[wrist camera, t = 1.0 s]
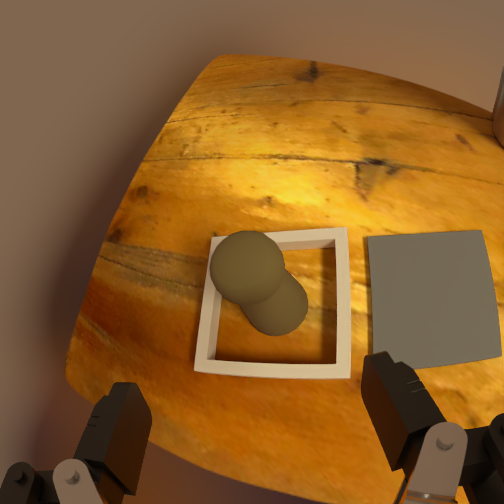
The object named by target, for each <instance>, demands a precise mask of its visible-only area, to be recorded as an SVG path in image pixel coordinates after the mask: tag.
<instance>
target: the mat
mask: <svg viewBox="0 0 504 504" xmlns="http://www.w3.org/2000/svg"><path fill="white" fill-rule="evenodd" d="M367 244H368V254H369V267H370V281H371V299H372V327H373V354H374V353H378V352H382V351H387V352H388V353H389V355H390V356H391V358H392V360H393V361H394V363H397V362H400V361H402V362H404V363H405V364H407V365H408V366H410V367H411V368H413V369H422V368H431V367H439V366H447V365H454V364H461V363H467V362H474V361H479V360H485V359H490V358H496V357H500V356H502V350H501V337H500V326H499V317H498V309H497V302H496V295H495V289H494V283H493V278H492V273H491V268H490V263H489V258H488V254H487V250H486V246H485V242H484V238H483V234H482V230H475V231H457V232H439V233H422V234H405V235H388V236H372V237H367Z"/></svg>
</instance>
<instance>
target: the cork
mask: <svg viewBox="0 0 504 504" xmlns="http://www.w3.org/2000/svg"><path fill="white" fill-rule="evenodd" d="M209 268H210V277H211V280H212V282H213V284H214V286H215V288H216V290H217V291H218V292H219V293H220V294H221V295H222V296H223V297H224V298H225V299H227V300H229V301H231V302H233V303H236V304H239V305H240V307H241V308H242V310H243V311H244V313H245V314H246V316H247V318H248V319H249V321H250V322H251V324H252V325H253V326H254V327H255V328H256V329H257V330H258V331H259V332H262V333H264V334H266V335H270V336H280V335H285V334H288V333H290V332H291V331H293V330H295V329H296V328H297V327H298V326H299V325H300V324H301V323H302V322H303V320H304V318H305V316H306V314H307V310H308V299H307V294H306V292H305V290H304V289H303V287H302V286H301V284H300V283H299V282H298V281H297V280H296V279H295V278H294V277H293V276H292V275H291V274H290V273H289V272H288V271H287V270H286V269H285V263H284V259H283V254H282V252H281V250H280V249H279V247H278V245H277V244H276V242H275V241H273V240H272V239H271V238H269V237H268V236H266V235H265V234H264V233H260V232H257V231H240V232H236V233H233V234H231V235H229V236H228V237H226V238H224V239H223V240H222V241H221V242H220V243H219V244H218V245H217V247H216V249H215V251H214V252H213V254H212V257H211V262H210V266H209Z"/></svg>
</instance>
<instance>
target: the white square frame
mask: <svg viewBox="0 0 504 504" xmlns="http://www.w3.org/2000/svg"><path fill="white" fill-rule="evenodd" d="M264 234H265V235H266V236H268V237H269V238H271V239H272V240H273V241H275V242H276V244H277V245H278V247H279V249H280V250H281V251H284V250H300V249H317V248H333V247H336V273H337V356H336V364H270V363H248V362H232V361H219V360H215V354H216V344H217V335H218V327H219V318H220V309H221V301H222V295H221V294H220V293H219V292H218V291H217V290H216V288H215V286H214V284H213V282H212V280H211V277H210V268H209V266H210V262H211V257H212V254H213V252H214V251H215V249H216V247H217V245H218V244H219V243H220V242H221V241H222V240H223V239H224V238H226V237H228V236H220V237H212V241H211V247H210V254H209V260H208V267H207V274H206V280H205V287H204V294H203V302H202V309H201V316H200V324H199V332H198V340H197V348H196V356H195V365H194V371H198V372H202V373H211V374H221V375H232V376H245V377H261V378H282V379H350V368H351V296H350V269H349V251H348V236H347V227H339V228H324V229H310V230H296V231H282V232H269V233H264Z"/></svg>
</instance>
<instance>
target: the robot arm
mask: <svg viewBox="0 0 504 504" xmlns="http://www.w3.org/2000/svg"><path fill="white" fill-rule="evenodd" d="M492 118H493V120H494V122H493V131H494V134H495V136H496V138H497V140H498V141H499V142H500V144H501V145H502V146H503V147H504V66H503V69H502V74H501V79H500V84H499V88H498V93H497V97H496V101H495V105H494V109H493V113H492ZM361 394H362V399H363V402H364V404H365V407H366V409H367V411H368V414H369V416H370V418H371V421H372V423H373V426H374V428H375V430H376V433H377V435H378V438H379V440H380V443H381V445H382V447H383V450H384V452H385V455H386V457H387V460H388V462H389V465H390V467H391V470H392V472H393V471H395V470H398V469H401V468H402V469H403V471H404V474H405V476H404V478H403V481H402V483H401V486H400V488H399V491H398V493H397V495H396V498H395V500H394V502H393V504H458V502H457V501H455V495H456V491H457V488H458V486H463V488H464V491H465V493H466V496H467V498H468V501H469V503H470V504H504V413H502V414H499V415H498V416H496V417H495V418H494V419H493V420H492V422H491V424H490V425H489V426H485V427H479V428H473V429H463V428H462V427H461V426H459V425H457V424H455V423H452V422H447V421H446V419H445V418H444V416H443V415H442V413H441V412H440V410H439V408H438V407H437V405H436V404H435V402H434V400H433V399H432V397H431V396H430V394H429V393H428V391H427V389H426V390H425V386H424V385H423V383H422V382H421V381H420V379H419V377H418V376H417V374H416V373H415V371H414V370H413V368H411V367H410V366H408V365H407V364H405V363H404V362H402V361H400V362H397V363H394V361H393V360H392V358H391V356H390V355H389V353H388V352H387V351H382V352H378V353H374V354H370V355H366V356H365V358H364V364H363V373H362V381H361ZM151 425H152V416H151V411H150V409H149V407H148V405H147V403H146V401H145V399H144V397H143V395H142V393H141V391H140V389H139V387H138V385H137V384H136V383H134V382H116V383H114V384H113V386H112V389H111V391H110V393H109V396H103V397H102V399H101V400H100V401H99V402H98V403H97V404H96V405H95V407H94V409H93V412H92V414H91V418H89V421H88V423H87V427H86V428H85V430H84V432H83V435H82V437H81V440H80V442H79V445H78V447H77V449H76V452H75V455H74V457H73V459H68V460H65V461H63V462H61V463H60V464H59V465H58V466H57V467H56V468H55V470H52V471H35V470H34V469H33V468H32V467H31V466H30V465H29V464H28V463H25V462H18V463H15V464H13V465H12V466H11V467H10V468H9V469H8V471H7V473H6V475H5V478H4V480H3V483H2V486H1V488H0V504H124V502H123V501H122V500H123V496H124V494H127V495H134V496H135V495H136V490H137V485H138V481H139V476H140V471H141V467H142V463H143V459H144V454H145V449H146V446H147V442H148V438H149V433H150V429H151Z"/></svg>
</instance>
